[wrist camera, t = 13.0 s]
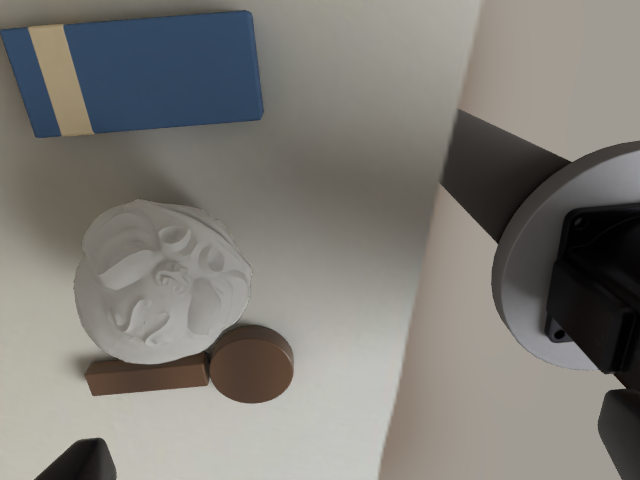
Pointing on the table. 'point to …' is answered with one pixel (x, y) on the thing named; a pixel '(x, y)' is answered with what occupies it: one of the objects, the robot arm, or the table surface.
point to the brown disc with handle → (208, 369)
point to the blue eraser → (137, 73)
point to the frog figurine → (159, 281)
